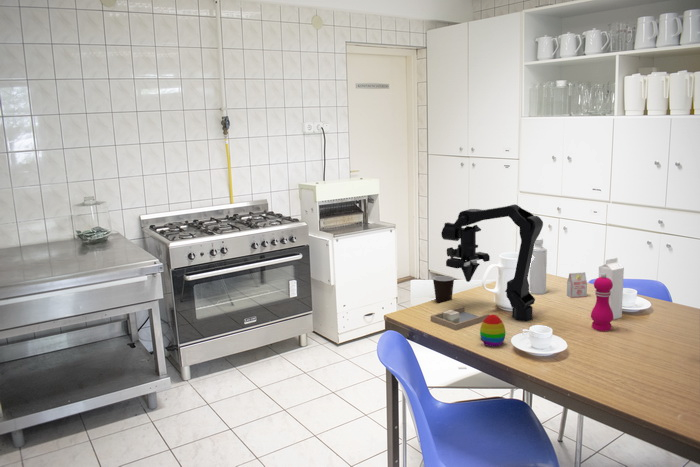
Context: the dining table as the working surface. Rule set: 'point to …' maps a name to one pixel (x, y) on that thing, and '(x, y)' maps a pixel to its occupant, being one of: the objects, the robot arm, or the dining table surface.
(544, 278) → the grey bottle
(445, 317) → the block
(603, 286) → the pepper mill
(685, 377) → the dining table surface
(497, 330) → the decorative egg
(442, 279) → the coffee mug
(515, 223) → the robot arm
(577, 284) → the printed paper bag
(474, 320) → the brown rectangular tray
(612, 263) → the milk
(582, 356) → the dining table surface
